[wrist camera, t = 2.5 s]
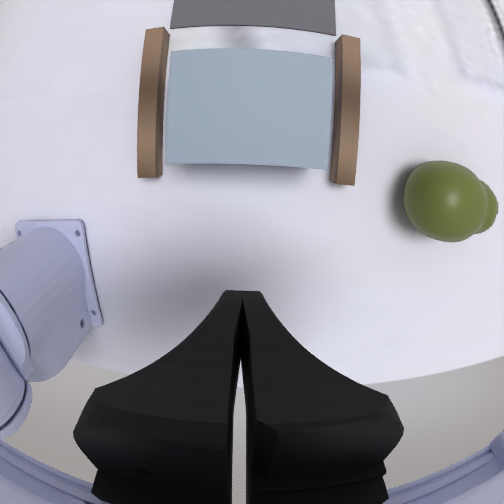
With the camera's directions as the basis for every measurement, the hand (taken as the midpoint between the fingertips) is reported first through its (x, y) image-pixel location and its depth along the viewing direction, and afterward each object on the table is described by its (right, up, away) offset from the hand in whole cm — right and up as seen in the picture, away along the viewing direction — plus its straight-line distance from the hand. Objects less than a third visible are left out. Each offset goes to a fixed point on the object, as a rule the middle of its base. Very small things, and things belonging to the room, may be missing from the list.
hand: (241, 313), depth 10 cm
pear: (+15, +7, +8) cm, 19 cm away
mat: (+1, +21, +2) cm, 21 cm away
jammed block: (0, +11, +6) cm, 12 cm away
